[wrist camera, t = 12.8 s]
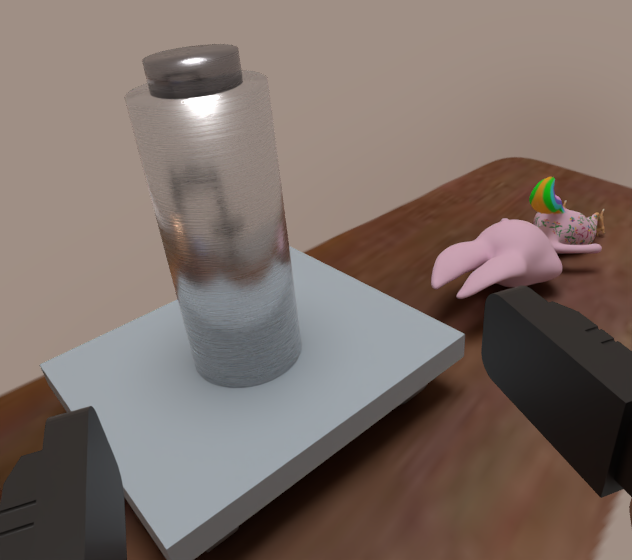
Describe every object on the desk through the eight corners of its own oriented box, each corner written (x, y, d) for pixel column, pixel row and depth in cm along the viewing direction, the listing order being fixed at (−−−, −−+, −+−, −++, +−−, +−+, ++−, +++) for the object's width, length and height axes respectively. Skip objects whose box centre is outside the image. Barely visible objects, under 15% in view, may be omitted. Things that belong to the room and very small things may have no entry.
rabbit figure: (530, 237, 40) (393, 300, 30) (547, 152, 37) (403, 192, 28) (623, 265, 35) (497, 347, 26) (649, 171, 33) (520, 225, 24)
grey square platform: (189, 609, 18) (166, 549, 16) (63, 417, 26) (39, 364, 25) (461, 390, 25) (464, 334, 24) (296, 293, 33) (289, 246, 32)
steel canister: (274, 398, 21) (216, 70, 15) (173, 375, 23) (83, 71, 17) (317, 327, 25) (286, 37, 19) (227, 312, 27) (170, 41, 20)
